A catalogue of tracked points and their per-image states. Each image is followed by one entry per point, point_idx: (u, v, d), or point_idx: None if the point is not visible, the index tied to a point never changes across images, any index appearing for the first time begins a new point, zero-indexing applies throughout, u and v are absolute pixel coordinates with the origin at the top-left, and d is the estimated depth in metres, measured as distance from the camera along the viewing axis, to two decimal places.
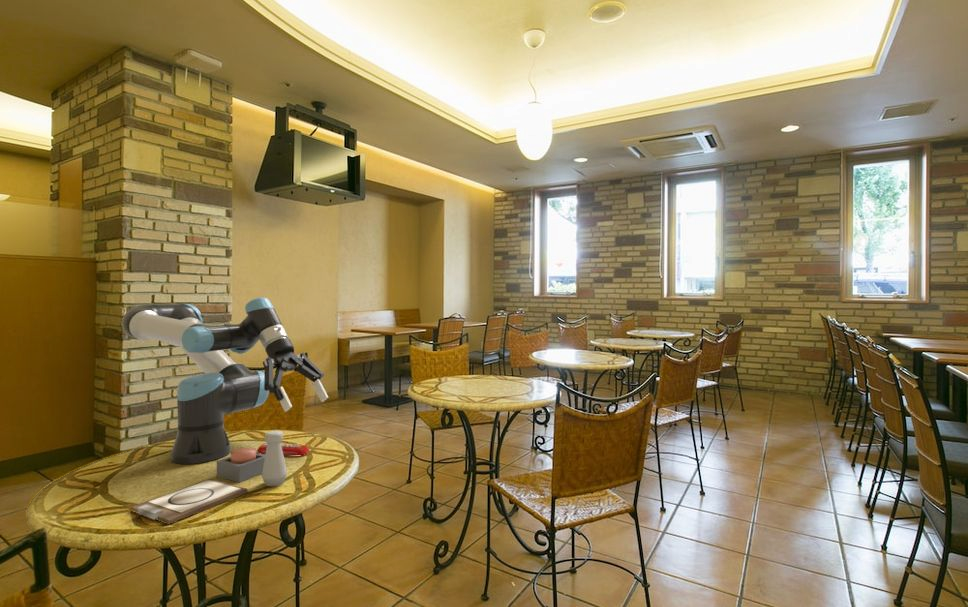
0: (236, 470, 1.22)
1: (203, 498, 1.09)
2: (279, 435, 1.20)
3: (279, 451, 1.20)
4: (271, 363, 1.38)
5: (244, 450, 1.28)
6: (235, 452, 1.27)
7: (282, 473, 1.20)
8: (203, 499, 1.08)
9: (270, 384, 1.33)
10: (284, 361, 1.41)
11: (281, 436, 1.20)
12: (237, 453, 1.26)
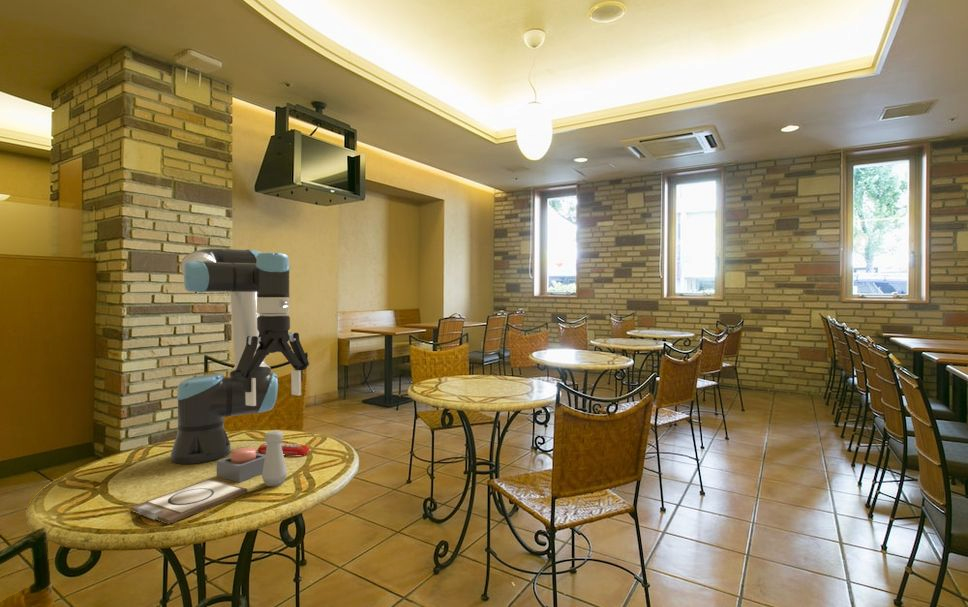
0: (236, 470, 1.22)
1: (203, 498, 1.09)
2: (279, 435, 1.20)
3: (279, 451, 1.20)
4: (255, 345, 1.14)
5: (244, 450, 1.28)
6: (235, 452, 1.27)
7: (282, 473, 1.20)
8: (203, 499, 1.08)
9: (243, 374, 1.11)
10: (271, 345, 1.18)
11: (281, 436, 1.20)
12: (237, 453, 1.26)
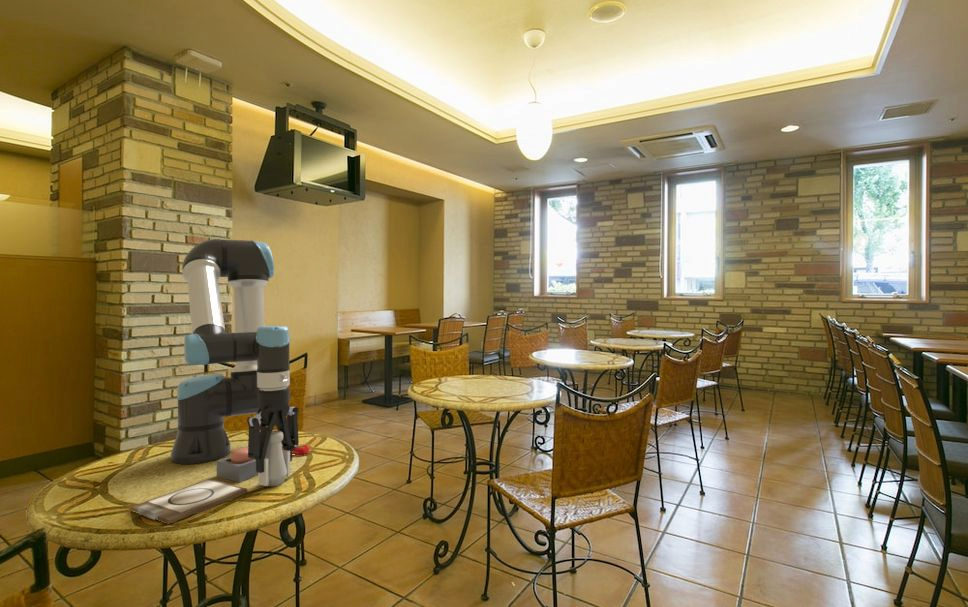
0: (236, 470, 1.22)
1: (203, 498, 1.09)
2: (279, 435, 1.20)
3: (279, 451, 1.20)
4: (258, 426, 1.15)
5: (244, 450, 1.28)
6: (235, 452, 1.27)
7: (282, 473, 1.20)
8: (203, 499, 1.08)
9: (256, 457, 1.15)
10: (272, 420, 1.18)
11: (281, 436, 1.20)
12: (237, 453, 1.26)
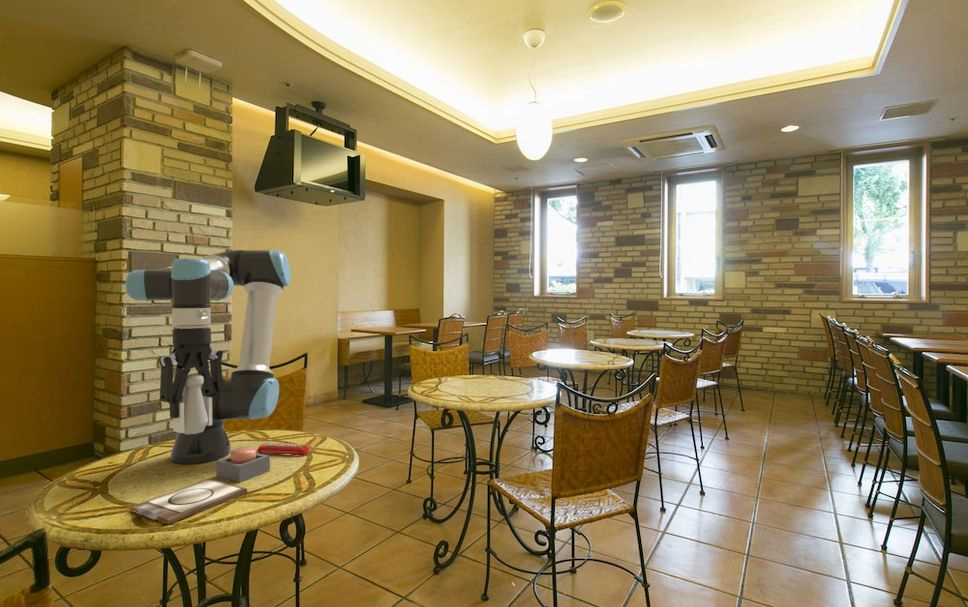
0: (236, 470, 1.22)
1: (203, 498, 1.09)
2: (198, 378, 1.09)
3: (197, 396, 1.09)
4: (171, 366, 1.04)
5: (244, 450, 1.28)
6: (235, 452, 1.27)
7: (201, 420, 1.09)
8: (203, 499, 1.08)
9: (168, 400, 1.04)
10: (189, 361, 1.08)
11: (201, 380, 1.10)
12: (237, 453, 1.26)
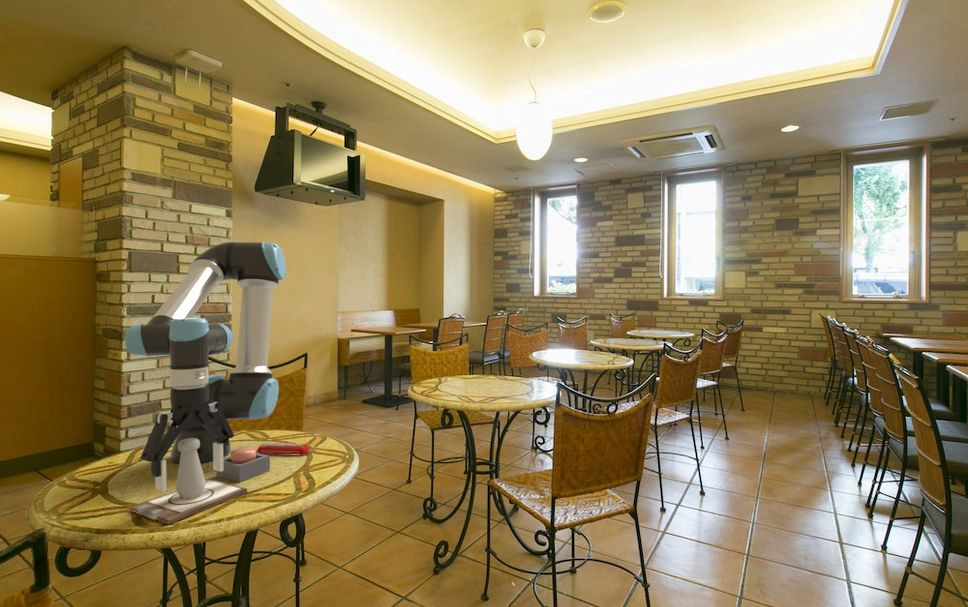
0: (236, 470, 1.22)
1: (203, 498, 1.09)
2: (194, 443, 1.09)
3: (194, 460, 1.09)
4: (165, 424, 1.04)
5: (244, 450, 1.28)
6: (235, 452, 1.27)
7: (198, 484, 1.09)
8: (203, 499, 1.08)
9: (149, 458, 1.01)
10: (185, 421, 1.07)
11: (197, 444, 1.10)
12: (237, 453, 1.26)
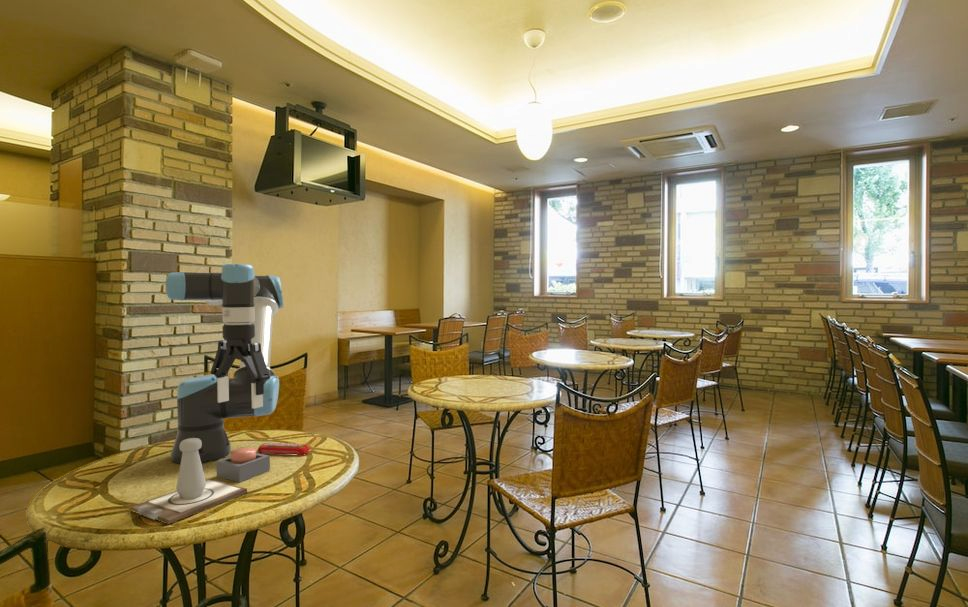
0: (236, 470, 1.22)
1: (203, 498, 1.09)
2: (195, 443, 1.09)
3: (195, 460, 1.09)
4: (219, 349, 1.28)
5: (244, 450, 1.28)
6: (235, 452, 1.27)
7: (199, 485, 1.09)
8: (203, 499, 1.08)
9: (211, 372, 1.30)
10: (227, 351, 1.25)
11: (199, 444, 1.10)
12: (237, 453, 1.26)
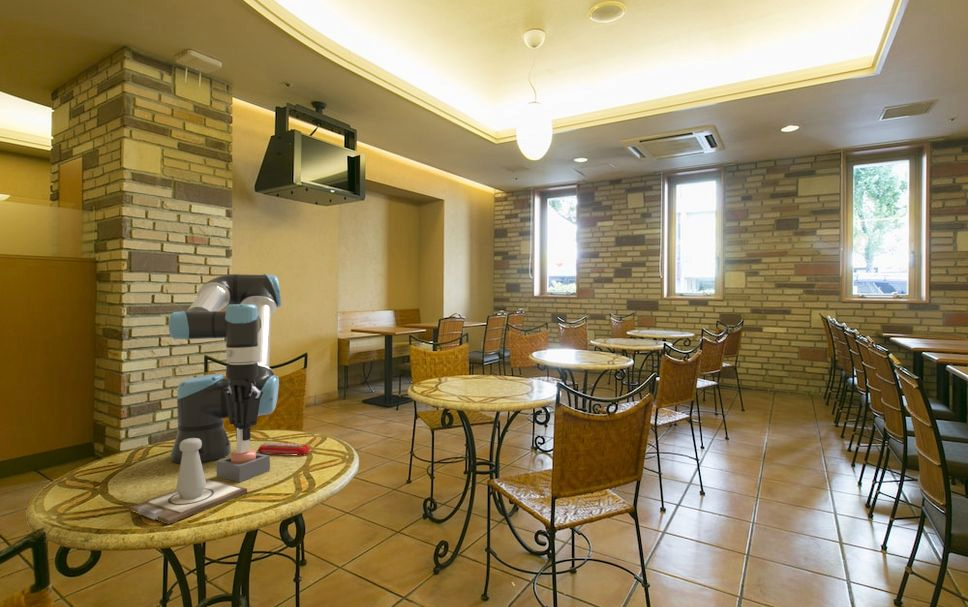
0: (236, 470, 1.22)
1: (203, 498, 1.09)
2: (195, 443, 1.09)
3: (195, 460, 1.09)
4: (226, 395, 1.28)
5: None
6: (235, 453, 1.27)
7: (199, 485, 1.09)
8: (203, 499, 1.08)
9: (230, 422, 1.28)
10: (232, 392, 1.26)
11: (199, 444, 1.10)
12: (237, 455, 1.26)
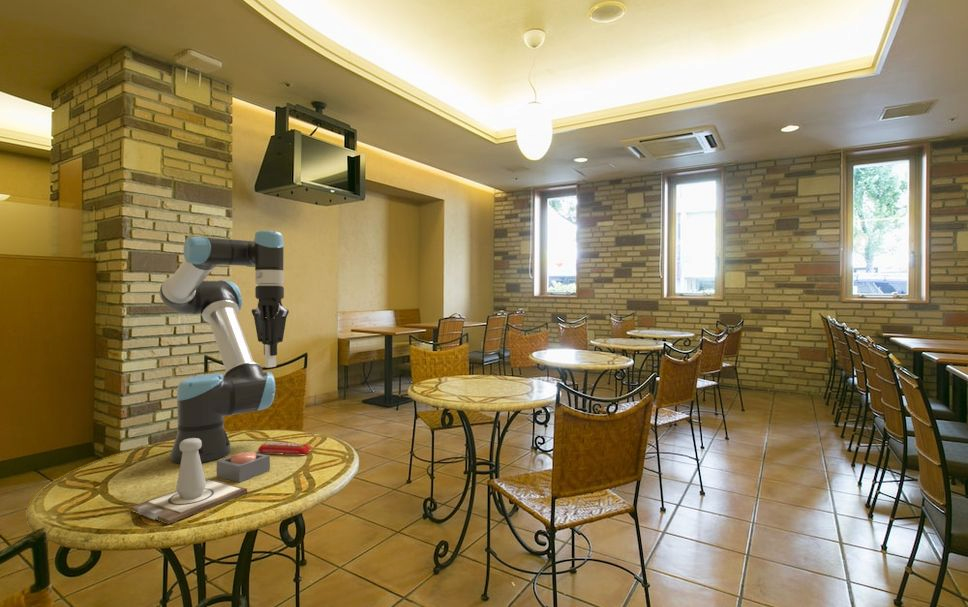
0: (236, 470, 1.22)
1: (203, 498, 1.09)
2: (195, 443, 1.09)
3: (195, 460, 1.09)
4: (255, 315, 1.40)
5: (244, 454, 1.28)
6: (235, 456, 1.27)
7: (199, 485, 1.09)
8: (203, 499, 1.08)
9: (258, 340, 1.40)
10: (261, 311, 1.38)
11: (199, 444, 1.10)
12: (237, 458, 1.26)
